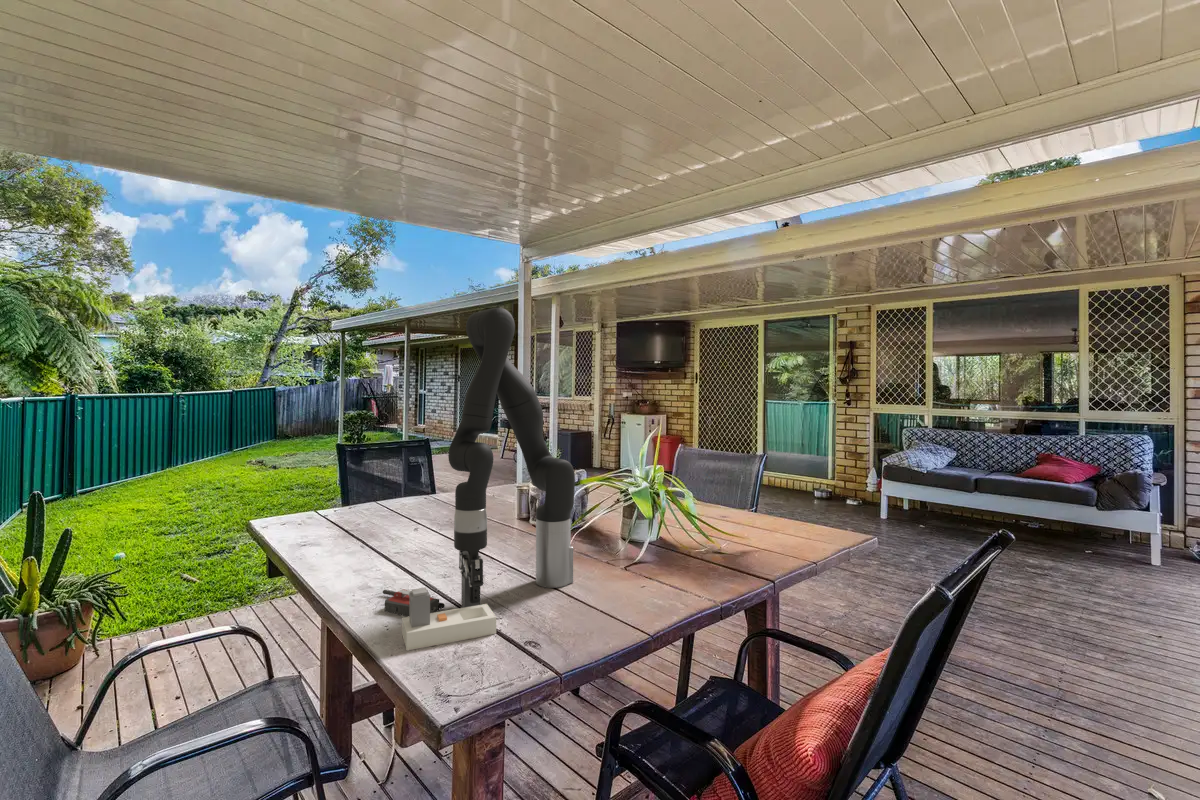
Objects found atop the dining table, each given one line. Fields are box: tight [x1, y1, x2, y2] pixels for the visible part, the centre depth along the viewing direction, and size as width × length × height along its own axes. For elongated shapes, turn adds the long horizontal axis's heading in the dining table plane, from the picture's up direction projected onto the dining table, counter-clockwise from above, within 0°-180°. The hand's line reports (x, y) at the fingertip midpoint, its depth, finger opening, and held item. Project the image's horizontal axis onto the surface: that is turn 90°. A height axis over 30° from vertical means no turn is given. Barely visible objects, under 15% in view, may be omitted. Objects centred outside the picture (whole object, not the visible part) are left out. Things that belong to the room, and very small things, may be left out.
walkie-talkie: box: [382, 588, 446, 617], centre depth 132 cm, size 9×4×20 cm
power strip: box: [401, 587, 497, 652], centre depth 117 cm, size 18×8×10 cm, turn 116°
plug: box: [461, 572, 481, 608], centre depth 130 cm, size 4×4×9 cm
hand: (470, 596), depth 130 cm, fingers open, 8 cm apart
